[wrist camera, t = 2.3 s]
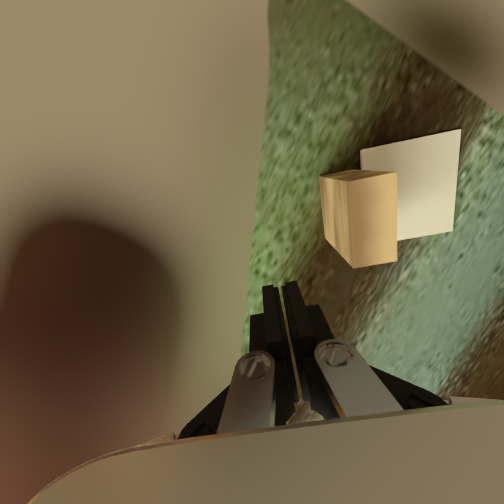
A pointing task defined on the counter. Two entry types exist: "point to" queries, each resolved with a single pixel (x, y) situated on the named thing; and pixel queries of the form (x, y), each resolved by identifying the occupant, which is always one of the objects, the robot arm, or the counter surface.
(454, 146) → the plastic mat
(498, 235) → the counter surface
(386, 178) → the wood block
